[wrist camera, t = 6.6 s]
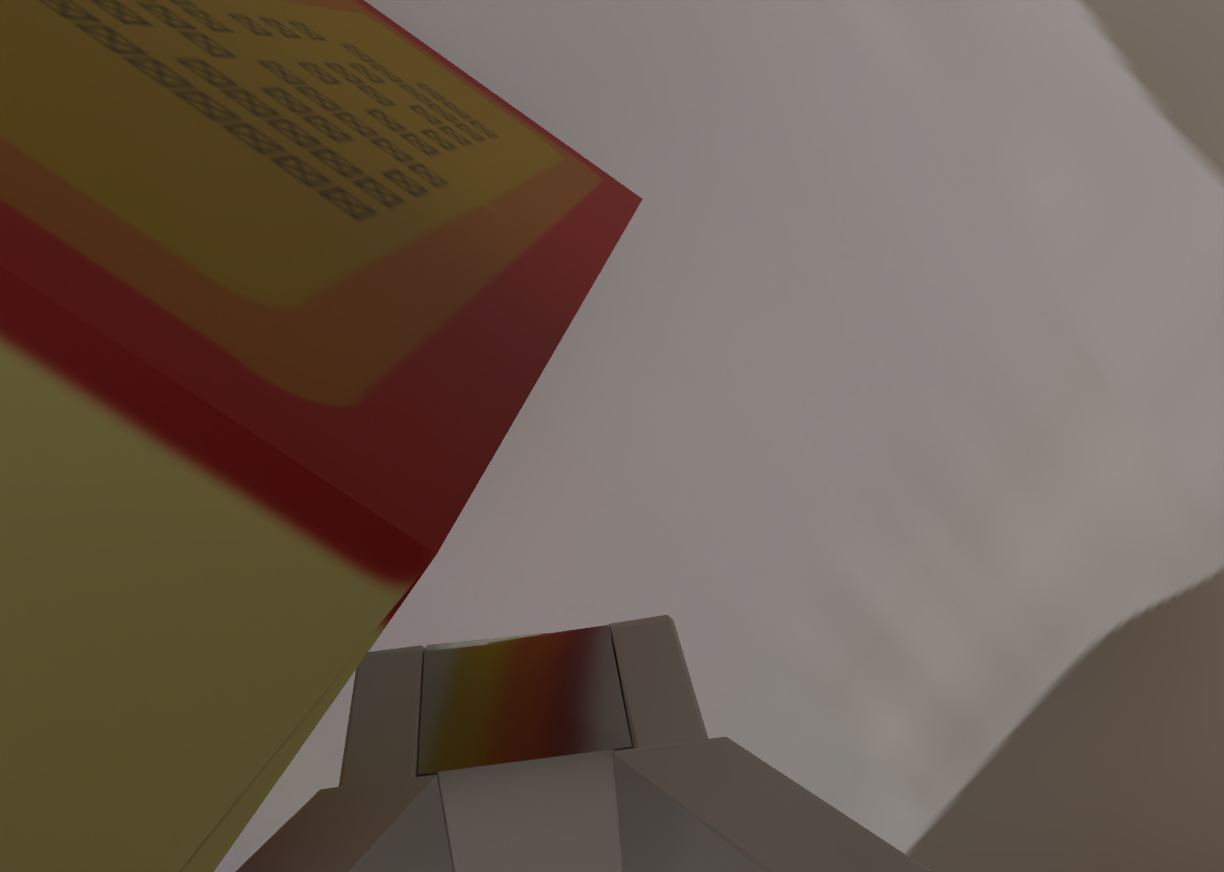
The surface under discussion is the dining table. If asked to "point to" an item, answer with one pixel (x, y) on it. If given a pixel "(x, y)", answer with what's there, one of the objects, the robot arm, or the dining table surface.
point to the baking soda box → (241, 386)
